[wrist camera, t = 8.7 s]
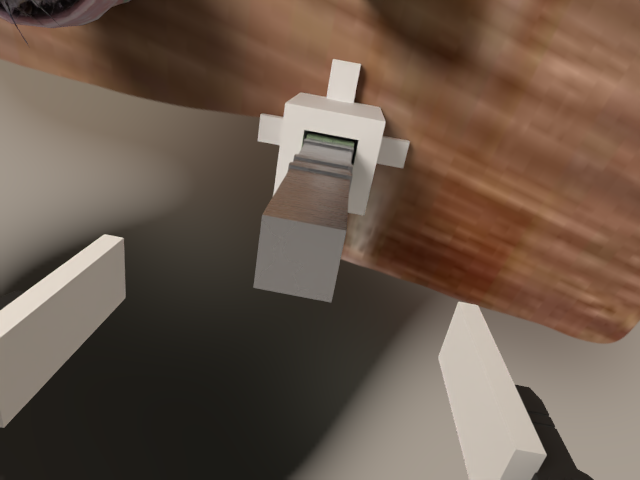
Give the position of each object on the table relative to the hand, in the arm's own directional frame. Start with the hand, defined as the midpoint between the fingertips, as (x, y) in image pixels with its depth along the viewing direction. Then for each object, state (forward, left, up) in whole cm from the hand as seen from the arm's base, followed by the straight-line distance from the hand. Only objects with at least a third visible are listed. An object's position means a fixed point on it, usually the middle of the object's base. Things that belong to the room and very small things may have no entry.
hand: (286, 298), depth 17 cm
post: (0, 0, -29) cm, 29 cm away
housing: (0, 0, -36) cm, 36 cm away
